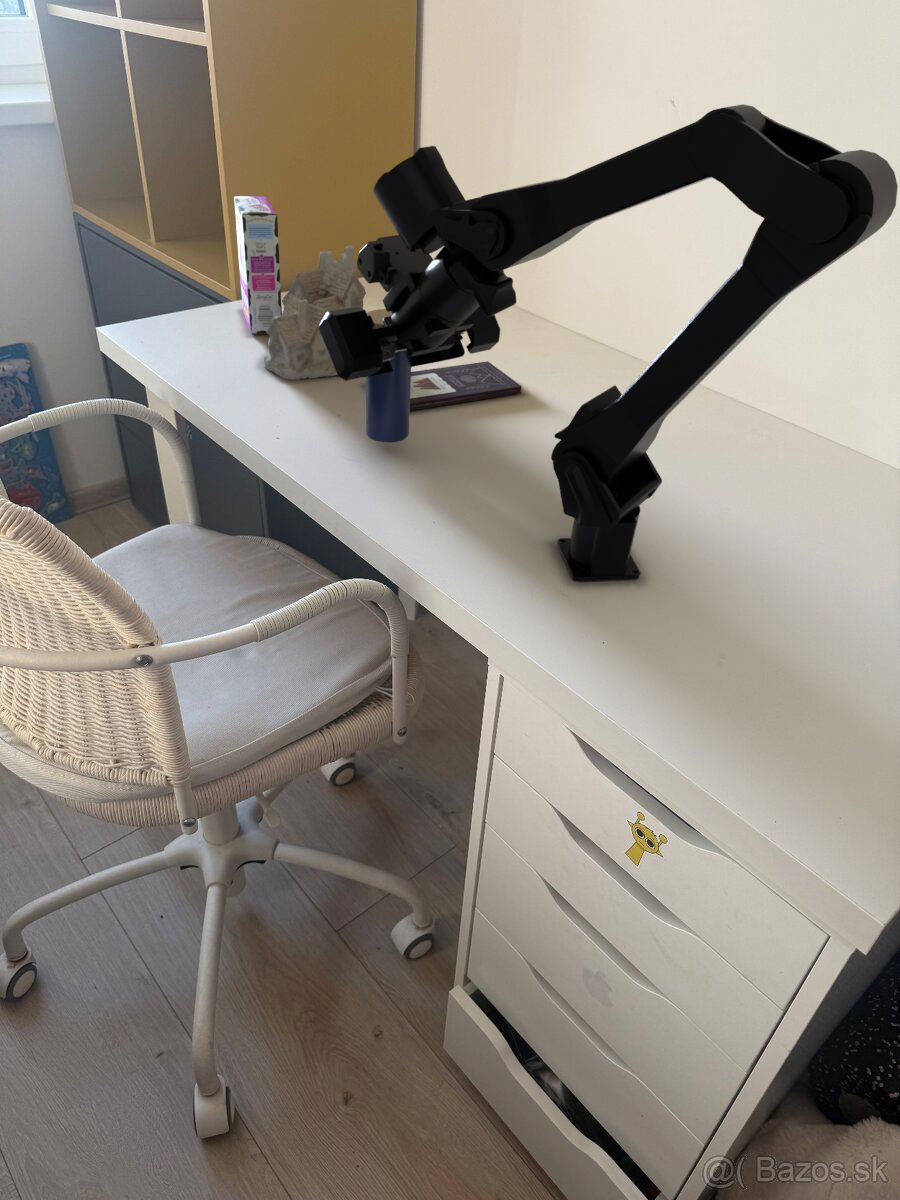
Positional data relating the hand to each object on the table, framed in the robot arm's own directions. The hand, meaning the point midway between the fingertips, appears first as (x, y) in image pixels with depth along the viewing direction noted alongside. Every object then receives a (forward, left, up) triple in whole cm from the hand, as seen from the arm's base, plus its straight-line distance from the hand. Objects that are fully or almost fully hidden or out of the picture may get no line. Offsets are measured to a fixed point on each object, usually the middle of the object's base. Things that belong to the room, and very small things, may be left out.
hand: (381, 368), depth 89 cm
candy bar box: (+41, +14, -9) cm, 44 cm away
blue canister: (-1, -1, -7) cm, 7 cm away
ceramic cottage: (+28, +7, -9) cm, 30 cm away
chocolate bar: (+16, -10, -9) cm, 21 cm away
